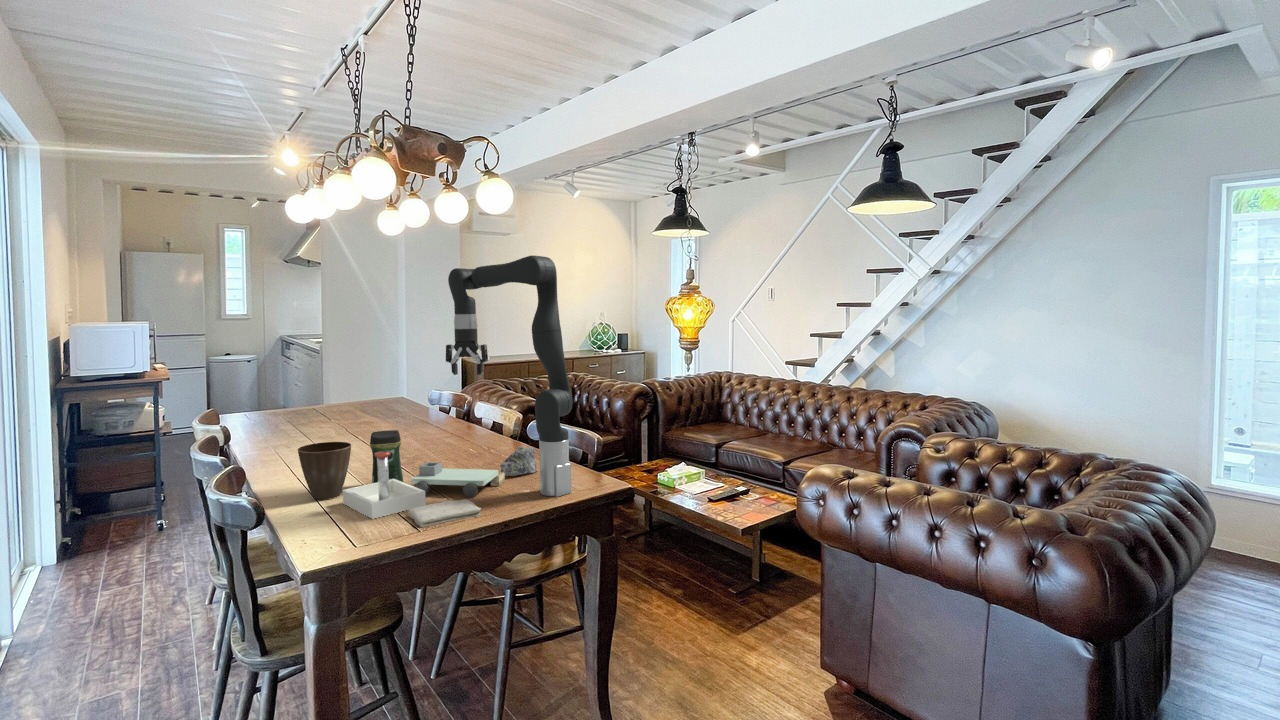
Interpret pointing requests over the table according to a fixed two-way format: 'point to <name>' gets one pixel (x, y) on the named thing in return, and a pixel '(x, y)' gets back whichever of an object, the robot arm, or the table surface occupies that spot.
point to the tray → (399, 499)
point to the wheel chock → (498, 479)
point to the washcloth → (443, 512)
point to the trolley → (452, 477)
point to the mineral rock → (519, 462)
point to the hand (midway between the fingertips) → (467, 374)
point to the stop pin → (383, 474)
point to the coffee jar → (387, 443)
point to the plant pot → (325, 467)
